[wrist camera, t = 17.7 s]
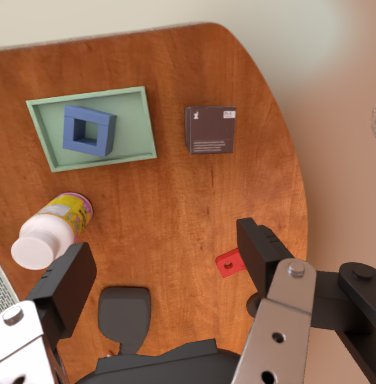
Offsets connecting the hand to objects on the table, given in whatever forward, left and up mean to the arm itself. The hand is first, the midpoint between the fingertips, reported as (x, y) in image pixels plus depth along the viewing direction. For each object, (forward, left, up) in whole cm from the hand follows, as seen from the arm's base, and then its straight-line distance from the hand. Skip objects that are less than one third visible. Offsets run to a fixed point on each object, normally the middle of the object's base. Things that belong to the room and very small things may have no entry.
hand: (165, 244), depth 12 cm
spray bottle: (+37, +18, -26) cm, 49 cm away
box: (-7, +2, -26) cm, 27 cm away
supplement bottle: (+18, -6, -26) cm, 32 cm away
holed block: (+4, -10, -26) cm, 28 cm away
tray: (+4, -10, -26) cm, 28 cm away
